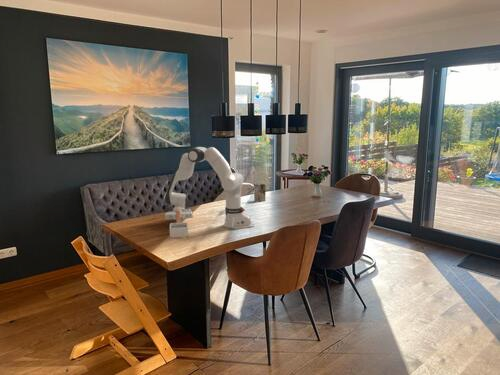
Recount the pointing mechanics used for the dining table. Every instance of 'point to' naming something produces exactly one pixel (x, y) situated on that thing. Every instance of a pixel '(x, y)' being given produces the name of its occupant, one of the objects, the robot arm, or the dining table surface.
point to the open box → (178, 230)
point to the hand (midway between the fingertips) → (178, 218)
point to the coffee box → (259, 192)
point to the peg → (178, 216)
